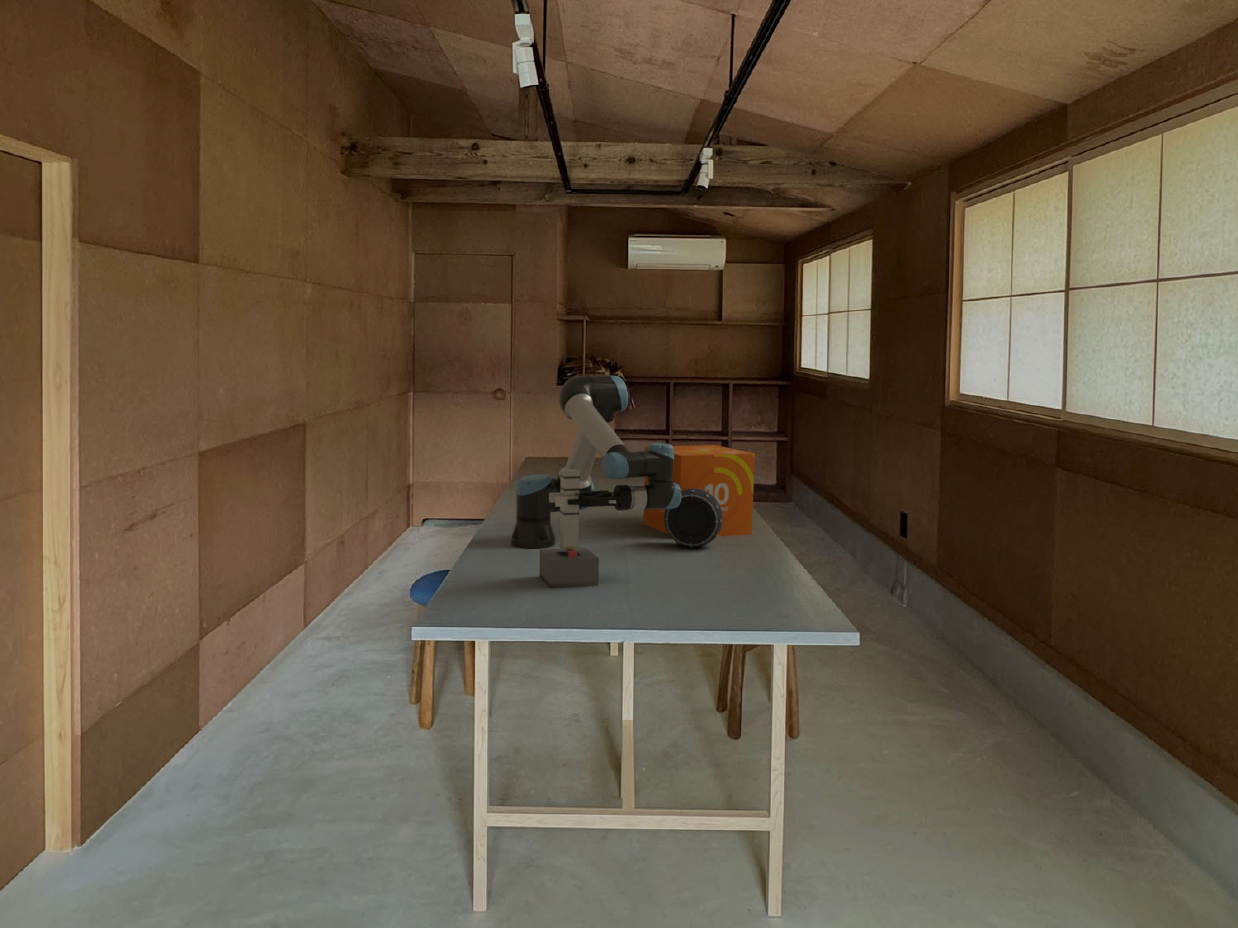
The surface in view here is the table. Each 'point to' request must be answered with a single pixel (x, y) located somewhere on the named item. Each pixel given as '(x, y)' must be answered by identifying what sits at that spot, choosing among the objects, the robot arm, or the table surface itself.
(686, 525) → the studded black puck
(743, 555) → the table surface
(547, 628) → the table surface
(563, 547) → the column
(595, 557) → the stand
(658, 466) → the robot arm
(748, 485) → the box
